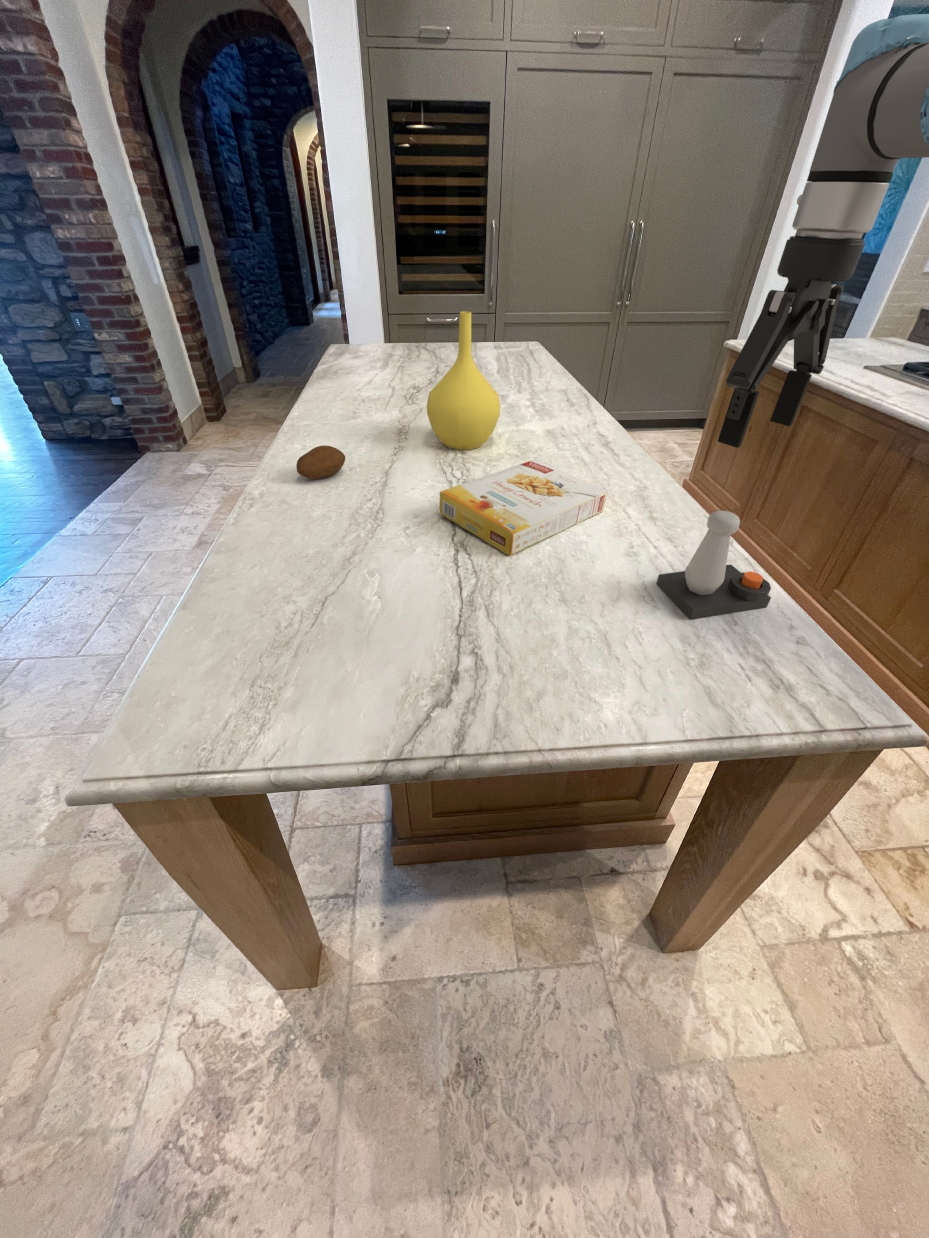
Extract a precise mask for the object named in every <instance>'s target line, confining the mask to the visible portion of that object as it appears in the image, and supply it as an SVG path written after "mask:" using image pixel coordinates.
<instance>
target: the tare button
mask: <svg viewBox="0 0 929 1238" xmlns="http://www.w3.org/2000/svg"><path fill="white" fill-rule="evenodd" d="M743 573H744V575H743V578H742V580H741V584H743V585H744V586H746V587H748V588H753V589H758V588H760V586H761V583H762V581H763V578H764V577H763V575H761V574H760V573H758V572H755V571H745V572H743Z"/></svg>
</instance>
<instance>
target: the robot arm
mask: <svg viewBox="0 0 929 1238" xmlns="http://www.w3.org/2000/svg"><path fill="white" fill-rule="evenodd" d="M832 92H833V93H832V97H831V101H830V104H829V107H828V111H827V114H826V117H825V120H824V123H823V127H822V129H821V133H820V136H819V139H818V142H817V146H816V149H815V152H814V155H813V159H812V162H811V165H810V168H809V171H808V172H809V174H808V176H807V178H806V182H805V185H804V187H803V188H804V189H803V191H802V194H800V195H799V196H797V199H796V204H797V209H796V212H795V214H794V215H795V216H794V218H793V222H792V225H791V227H792V229H793V230H796V231H795V235H791V236H789V239H786V242H785V245H784V248H783V251H782V254H781V257H780V260H779V263H778V266H777V269H776V270H777V275H778V276H779V277H781V278H787V283H786V285H785V287H784V290H779V289H778V290H776V289H770V290H769V291H768V293H767V295H766V298H765V300H764V303H763V305H762V307H761V311H760V313H759V316H758V318H757V320H756V321H755V324H754V325H753V327H752V329H751V331H750V333H749V335H748V337H747V338H746V341H745V343H744V344H743V346H742V348H741V350H740V351H739V354H738V356H737V358H736V360H735V362H734V364H733V366H732V368H731V369H730V371H729V373H728V375H727V377H726V380H725V385H726V387H728V388H733V391H732V393H731V394H732V395H731V397H730V401H729V404H728V407H727V410H726V413H725V416H724V420H723V423H722V426H721V429H720V432H719V435H718V439H717V442H718V443H720V444H723V445H727V446H729V447H733V448H736V449H738V448H741V447H742V443H743V441H744V438H745V435H746V432H747V429H748V426H749V424H750V421H751V418H752V416H753V412H754V409H755V406H756V404H757V401H758V398H759V395H760V391H759V390H757V389H758V387H759V386H760V384H761V383H762V381H763V380H764V379H765V377H766V376H767V374H768V372H769V371H770V369H771V368H772V366H773V365H774V363H776V360H777V359H778V357H779V356H780V354H781V353H782V351H783V350H784V348H785V347H786V345H787V344H788V342H791V341H793V369H790V370H788V372H787V374H786V377H785V379H784V382H783V385H782V387H781V391H780V392H779V396H778V399H777V401H776V404H775V407H774V409H773V412H772V415H771V416H770V421H769V422H772V423H775V424H779V425H783V426H786V427H792V426H793V425H794V421H795V419H796V416H797V413H798V412H799V409H800V407H801V404H802V401H803V399H804V397H805V393H806V391H807V389H808V385H809V384H810V381H811V378H812V376H813V374H814V375H820V374H822V372H823V370H824V368H825V367H824V366H825V365H824V364H825V363H826V360H827V355H828V351H829V347H830V342H831V337H832V332H833V327H834V322H835V319H836V313H837V310H838V306H839V303H840V299H841V297H842V294H843V292H844V289H845V285H844V284H834V282H837V283H838V282H845V281H849V280H850V279H851V278H852V277H853V275H854V273H855V270H856V269H857V265H858V263H859V262H860V261H859V260H860V258H861V255H862V253H863V250H864V248H865V246H866V243H865V239H862V238H863V235H864V234H865V233H869V232H870V231H872V229H873V227H874V225H875V223H876V220H877V217H878V215H879V212H880V209H881V207H882V204H883V202H884V199H885V196H886V194H887V191H888V189H889V186H890V183H891V181H892V179H893V176H894V172H895V169H896V166H897V164H898V162H899V160H901V159H921V158H922V159H923V158H924V159H925V158H929V13H917V14H903V15H898V16H896V17H891V18H882V19H878V20H876V21H874V22H871V23H870V24H868V25H866V26H865V27H863V28H862V29H861V30H860V32H859V33H858V34H857V35H855V38H854V39H853V41H852V44H851V46H850V49H849V51H848V54H847V57H846V60H845V63H844V65H843V68H842V71H841V74H840V77H839V78H838V80H837V81H836V84H835V86H834V88H833V91H832Z"/></svg>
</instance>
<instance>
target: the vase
mask: <svg viewBox="0 0 929 1238" xmlns="http://www.w3.org/2000/svg"><path fill="white" fill-rule="evenodd" d="M458 324H459V325H458V353H457V356H456V359H455V361H454V363H453V365H452V366H451V367H450V368H449V370H448V371H447V372H446V373H445V374H444V375H443V377H442V379H440V380H439V381H438V382H437V384H436V385H435V386H434V387H432V388H431V390H430V391H429V392H428V397H427V402H426V415H427V418H428V421H429V423H430V426H431V427H430V428H431V429H432V431H433V432H434V434H435V436H436V438H437V439H438V441H440V442H441V443H442V444H443V445H444V446H445V447H447V448H449V449H453V450H459V451H467V450H475V449H477V448H479V447H481V446H483V445H484V444H485V443H486V442H487V441H488V440H489V438H490V437H491V436H492V434H493V432H494V431H495V429H496V426H497V423H498V421H499V419H500V416H501V415H500V414H501V402H500V394H499V393H498V392H497V391H496V390H495V388H493V386H492V385H491V384H490V382H488V380H487V379H486V378H485V376H484V374H482V372H481V370H480V369H479V368H478V367H477V366H476V364H475V361H474V359H473V355H472V312H471V311H465V310H463V311H460V312H459V323H458Z"/></svg>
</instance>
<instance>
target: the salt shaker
mask: <svg viewBox="0 0 929 1238" xmlns="http://www.w3.org/2000/svg"><path fill="white" fill-rule="evenodd" d="M740 524H741V520H740V516H739V515H737V514H736V513H734V512H731V511H728V510H715V511H713V512H712V513H710V515H709V516H708V518H707V522H706V526H707V531H706V533H705V535H704V537H703V539H702V540H701V542H700V544H699V545H698V547H697V549H696V551H695V553H694V554H693V556H692V557H691V559H690V561H689V562H688V564H687V566H686V567H685V569H684V571H685V577H686V584H687V586H688V588H689V590H690V591H692V592H694V593H697V594H699V595H708V594H712V593H713V592H714V591H715V590H716V589H717V588H718V587H719V586H720V585H721V584H722V583H723V581H724V577H725V570H726V565H727V562H728V556H729V555H728V554H729V548H730V541H731V535H734V534H736V532H737V531H738V530H739V527H740Z"/></svg>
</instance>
